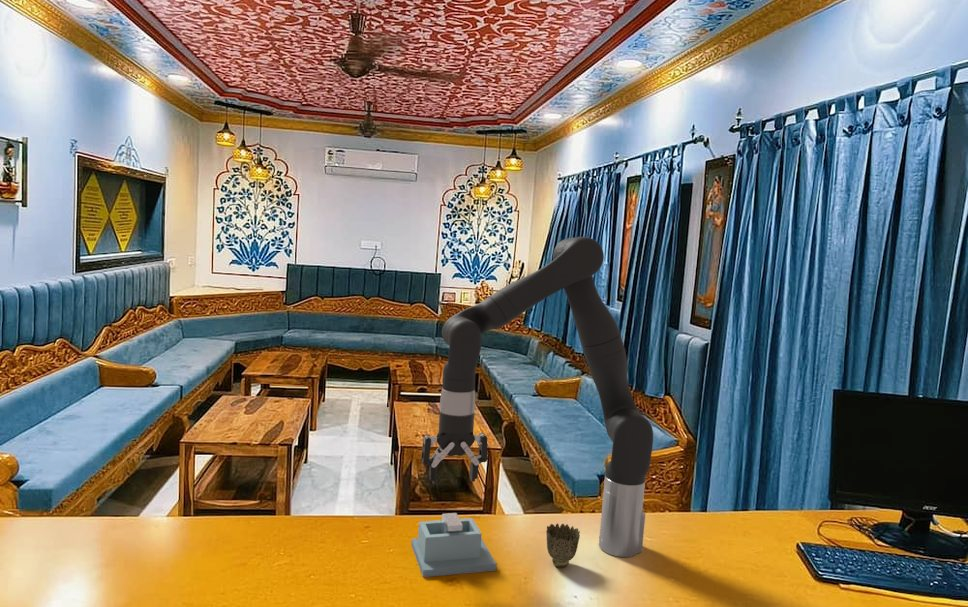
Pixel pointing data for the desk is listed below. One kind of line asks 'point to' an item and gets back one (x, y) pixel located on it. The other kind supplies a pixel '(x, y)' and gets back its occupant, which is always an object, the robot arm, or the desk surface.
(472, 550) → the well board
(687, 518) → the desk surface
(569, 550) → the cup
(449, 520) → the grey painted wood block
